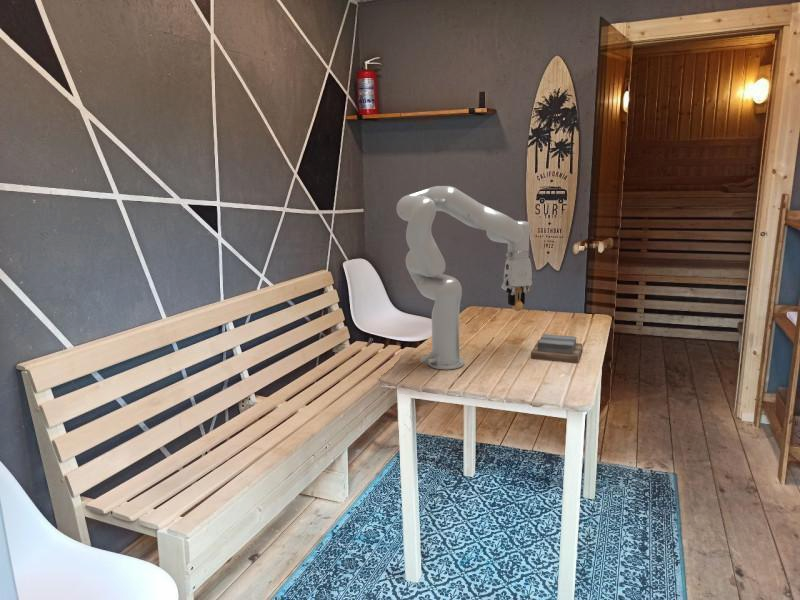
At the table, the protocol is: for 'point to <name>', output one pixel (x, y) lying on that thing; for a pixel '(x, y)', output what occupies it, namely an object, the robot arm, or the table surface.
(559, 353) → the display stand
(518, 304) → the figurine
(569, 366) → the table surface
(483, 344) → the table surface
